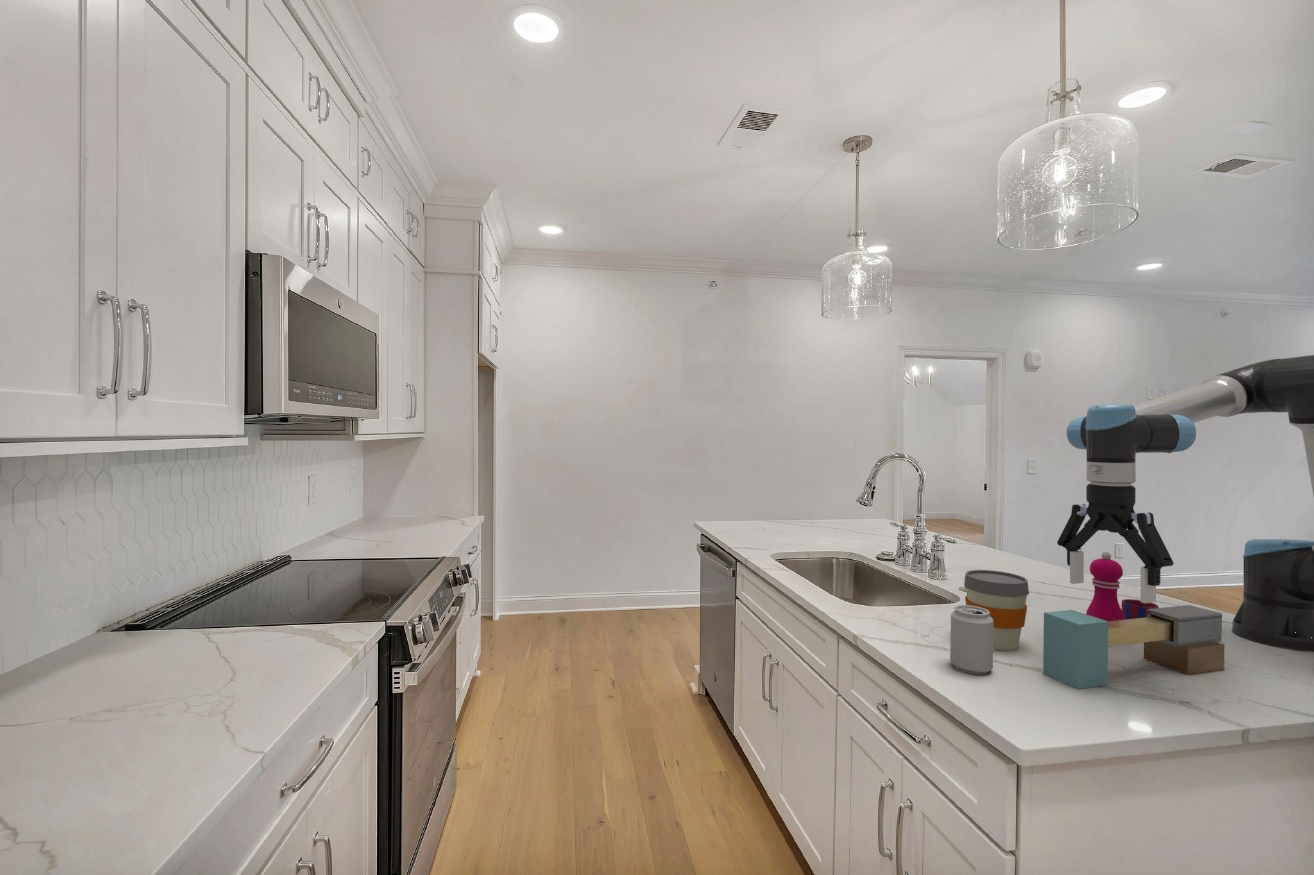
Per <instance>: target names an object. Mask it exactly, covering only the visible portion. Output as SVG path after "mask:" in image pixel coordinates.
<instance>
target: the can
mask: <svg viewBox="0 0 1314 875" xmlns="http://www.w3.org/2000/svg"><path fill="white" fill-rule="evenodd" d="M989 614H990V612H989V611H988V610H986V609H984V608H981V607H977V606H970V605H966V604H959V605H955V606H954V611H952V612H951V613H950V644H949V645H950V651H949V652H950V654H949V655H950V657H949V658H950V659H949V660H950V662H951V664H952V665H953V666H954V667H955V668H956V669H957V670H958V671H961V672H964V673H968V674H971V675H985V674H988V672H991V671H992V670H993V668H994V649H993V619H992V618H991V617H990V615H989Z"/></svg>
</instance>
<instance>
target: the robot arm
mask: <svg viewBox="0 0 1314 875" xmlns="http://www.w3.org/2000/svg"><path fill="white" fill-rule="evenodd" d="M1086 411H1087V412H1086V415H1085V416H1078V417H1076V418H1073V419H1072V420H1071V421H1070V422H1069V424H1068V425H1067V428H1066V438H1067V441H1068V442H1069V444H1070V445H1071V447H1074V448H1076V449H1079V450H1086V481H1087V482H1090V483H1088V484H1087V485H1086V489H1085V491H1086V492H1085V493H1086V495H1085V496H1086V497H1085V498H1086V502H1087V503H1088V506H1087V505H1086V504H1085V503H1080V504H1077V503H1076V504H1072V506H1071V514H1070V517H1069V518H1068V520H1067V522H1066V524H1065V526H1064V528H1063V530H1062V531H1061V534H1060V535H1059V538H1058V539H1057V542H1056V543H1057V545H1058V546H1059V547H1062V548H1065V550H1066V564H1067V566H1068V567H1069V583H1070V584H1072V585H1075V584H1076V585H1077V584H1084V583H1085V582H1084V581H1085V579H1084V576H1085V575H1084V572H1085V570H1084V568H1085V567H1084V565H1085V564H1084V563H1085V562H1084V557H1085V555H1084V551H1082V547H1083V546H1084V545H1085V544H1086V543H1087V542H1088V541H1089V540H1090V539H1091V538H1092V537H1094V535H1095V534H1096V533H1097V532H1098V531H1103V532H1104V531H1108V532H1109V533H1113V534H1116V533H1118V535H1119V536H1121V537H1123V538H1124V540H1125V542H1127V543H1128V545H1129V546H1130V547H1131V549H1132V550H1133V551H1134V553H1135V554H1136V556H1138V558H1139V559H1140V560H1141V562H1142V563H1143V564H1144V566H1140V600H1141V602H1142V603H1157V586H1160V585H1161V569H1162V568H1164V567H1165V568H1166V567H1172V566H1173V565H1174V560H1173V559H1172V557H1171V555H1170V552H1169V551H1168V548H1167V547H1166V545H1165V542H1164V541H1163V539H1162V536H1161V535H1160V533H1159V531H1158V529H1157V527H1156V526H1155V519H1154V514H1153V513H1152V512H1150V511H1148V512H1135V509H1134V507H1135V504H1136V487H1135V486H1134V485H1132V484H1135V483H1136V481H1137V480H1136V478H1137V477H1136V475H1137V474H1136V472H1137V470H1136V466H1137V465H1136V462H1137V461H1136V458H1137V457H1136V454H1138V453H1140V454H1141V453H1146V454H1147V453H1150V454H1153V453H1154V454H1155V453H1156V454H1157V453H1159V454H1160V453H1163V454H1165V453H1166V454H1172V453H1176V452H1180V453H1181V452H1184V451H1186V450H1188V449H1189V448H1190V447H1192V445H1193V444H1194V443H1195V442H1196V438H1197V428H1196V425H1195V423H1197V422H1201V421H1204V420H1207V419H1211V418H1214V417H1220V418H1221V417H1222V418H1223V417H1224V418H1228V417H1233V416H1234V417H1235V416H1236V415H1240V414H1254V413H1255V414H1256V413H1258V414H1259V413H1287V416H1288V421H1289V425H1292V426H1293V427H1295V428H1297V429H1299V430H1300V431H1301V433H1302V438H1303V439H1302V440H1303V443H1304V444H1303V445H1304V449H1305V455H1306V461H1307V467H1308V472H1309V477H1310V483H1311V489H1312V490H1311V491H1312V496H1313V497H1314V354H1312V355H1311V354H1309V355H1303V356H1293V357H1286V358H1272V359H1268V360H1267V359H1266V360H1263V361H1259V362H1255V363H1250V364H1248V365H1244V366H1241V367H1238V368H1235V369H1232V370H1229V371H1226V372H1223V373H1219V374H1217V375H1216V374H1215V375H1213V376H1209V377H1208V378H1206V379H1204V381H1203V382H1201V384H1198V385H1196V386H1195V385H1194V386H1192V387H1188V388H1186V389H1182V390H1179V391H1175V392H1172V393H1169V394H1165V395H1161V396H1158V397H1156V398H1152V399H1149V400H1146V401H1142V402H1139V403H1135V404H1100V405H1099V404H1098V405H1092V406H1090V407H1089V408H1088V409H1087V410H1086ZM1086 516H1088V518H1089V519H1088V520H1087V521H1086V522H1085V523H1084V524H1083V522H1084V521H1085V518H1086ZM1134 523H1135V524H1137V526H1135V524H1134ZM1082 525H1083V527H1082V528H1081V526H1082ZM1137 527H1138V528H1137ZM1080 528H1081V529H1080ZM1139 532H1140V533H1139ZM1140 534H1141V535H1140ZM1242 559H1243V594H1242V596H1243V599H1242V602H1241V603H1240V606H1239V608H1238V610H1237V612H1236V614H1235V616H1234V618H1233V619H1232V623H1231V624H1232V626H1231V631H1232V632H1233V633H1234V634H1235V635H1237V636H1239V637H1242V638H1245V639H1246V640H1247V639H1248V640H1250V641H1254V642H1256V643H1257V642H1258V643H1262V644H1265V645H1269V646H1274V647H1279V648H1284V649H1290V650H1297V651H1307V652H1309V651H1310V652H1314V540H1309V539H1308V540H1307V539H1306V540H1305V539H1283V538H1282V539H1281V538H1280V539H1279V538H1276V539H1273V538H1272V539H1271V538H1259V539H1258V538H1256V539H1250V540H1248V541H1246V542H1245V544H1244V553H1243V555H1242ZM1295 632H1296V633H1295ZM1311 637H1312V638H1311Z"/></svg>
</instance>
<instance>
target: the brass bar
mask: <svg viewBox="0 0 1314 875" xmlns="http://www.w3.org/2000/svg"><path fill="white" fill-rule="evenodd" d="M1108 622H1109V624H1108V648H1109V647H1117V646H1119V647H1120V646H1126V645H1135V644H1144V642H1152V641H1161V640H1169V639H1174V621H1172V620H1169V619H1165V618H1162V617H1158V616H1156V617H1147V618H1137V619H1127V620H1118V621H1108Z"/></svg>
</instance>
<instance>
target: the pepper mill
mask: <svg viewBox="0 0 1314 875" xmlns="http://www.w3.org/2000/svg"><path fill="white" fill-rule="evenodd" d="M1100 555H1101V558H1096V559H1094V560H1092V561H1091V563H1090V565H1089V572H1090V574H1091V575H1092V576H1093V577H1092V579H1091V580H1092V583H1091V584H1092V585H1093V588H1094V592H1093V597H1092V600H1091V602H1090V604H1089V605H1088V607H1087V609H1086V612H1085V614H1086V615H1090V616H1093V617H1096V618H1099V619H1102V620H1105V621H1118V620H1125V617H1124V614H1123V612H1122V607H1121V605H1120V603H1119V601H1118V589H1120V588H1121V586H1120V584H1121V582H1120V581H1119V580H1121V578H1122V577H1123V575H1124V570H1123V567H1122V565H1121V564H1120V563H1119V562H1117V561H1116V560H1114V559H1111V558H1112V554H1111V553H1110V552H1107V551H1105V552H1102V553H1101V554H1100Z"/></svg>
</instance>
